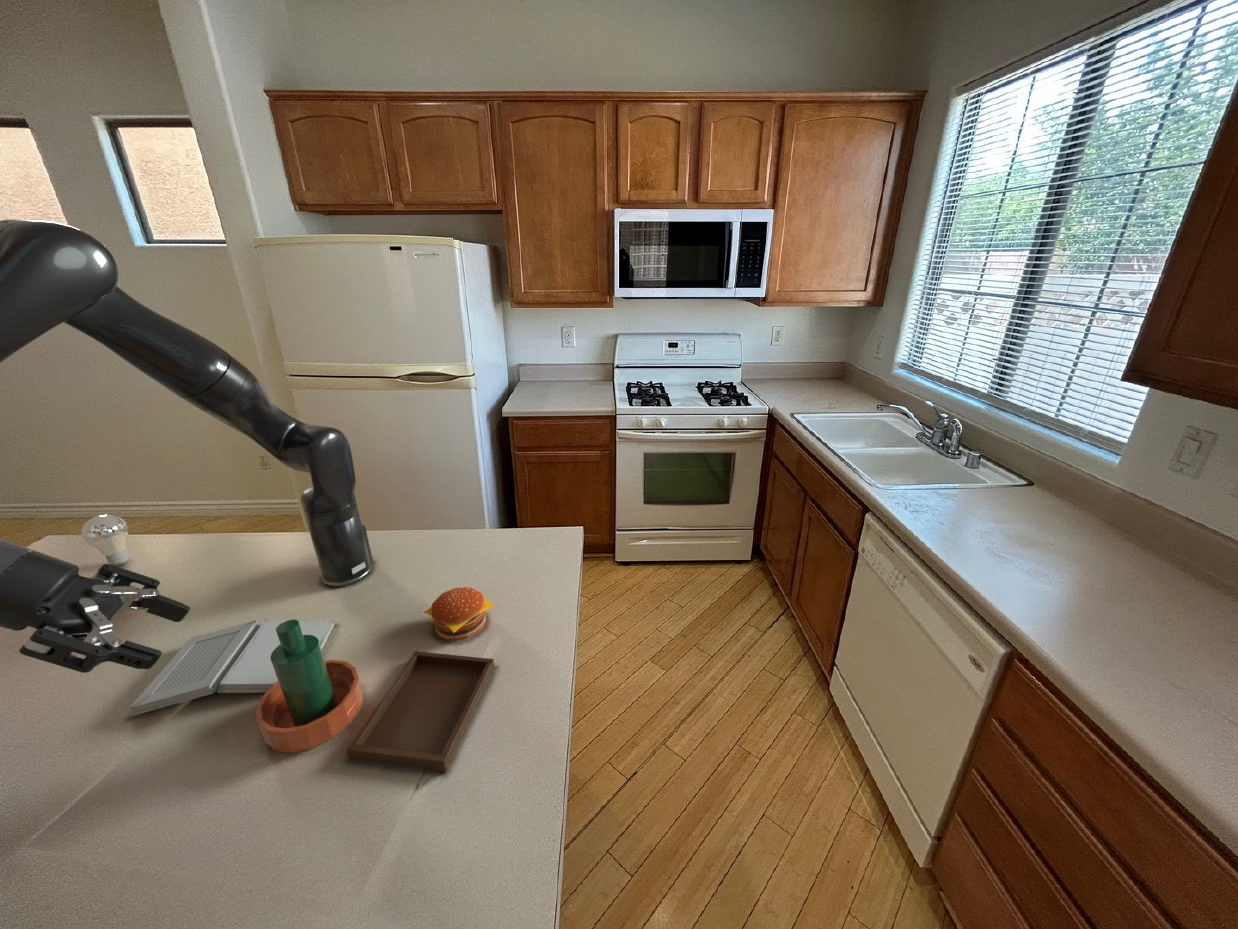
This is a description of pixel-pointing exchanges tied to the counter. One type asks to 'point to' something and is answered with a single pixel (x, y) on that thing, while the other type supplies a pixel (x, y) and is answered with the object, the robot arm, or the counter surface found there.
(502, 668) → the counter surface
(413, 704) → the tray
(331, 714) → the bowl
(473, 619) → the hamburger
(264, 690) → the gadget
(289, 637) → the bottle
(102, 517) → the light bulb
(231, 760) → the counter surface
